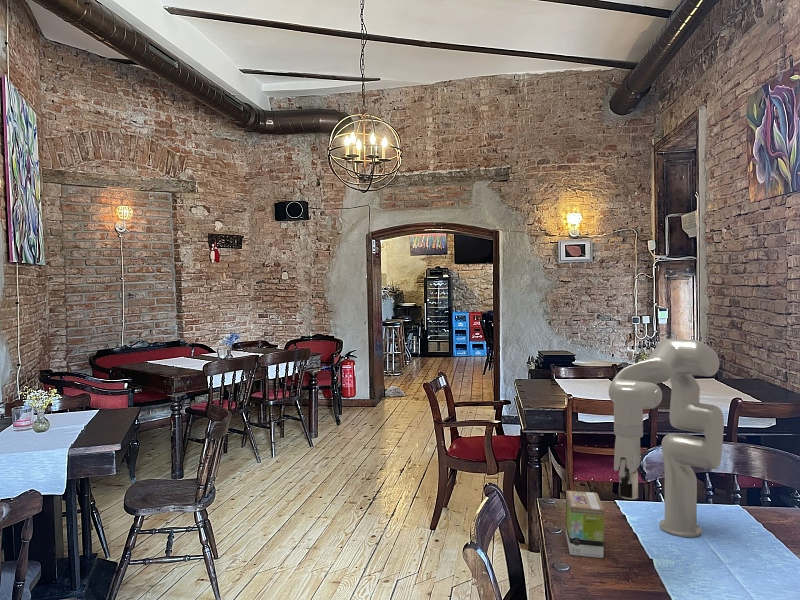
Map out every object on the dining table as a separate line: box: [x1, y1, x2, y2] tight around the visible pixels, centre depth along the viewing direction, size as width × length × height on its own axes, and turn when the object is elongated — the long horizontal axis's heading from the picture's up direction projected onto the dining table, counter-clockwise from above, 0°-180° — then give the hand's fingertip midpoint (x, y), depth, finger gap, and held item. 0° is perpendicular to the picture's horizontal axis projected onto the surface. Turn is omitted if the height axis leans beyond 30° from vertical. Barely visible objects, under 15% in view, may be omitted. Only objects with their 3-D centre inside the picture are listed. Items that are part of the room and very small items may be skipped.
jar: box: [618, 469, 639, 500], centre depth 157 cm, size 5×5×8 cm
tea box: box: [565, 490, 605, 559], centre depth 173 cm, size 15×10×15 cm, turn 168°
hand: (628, 493), depth 157 cm, fingers closed on jar, 4 cm apart
